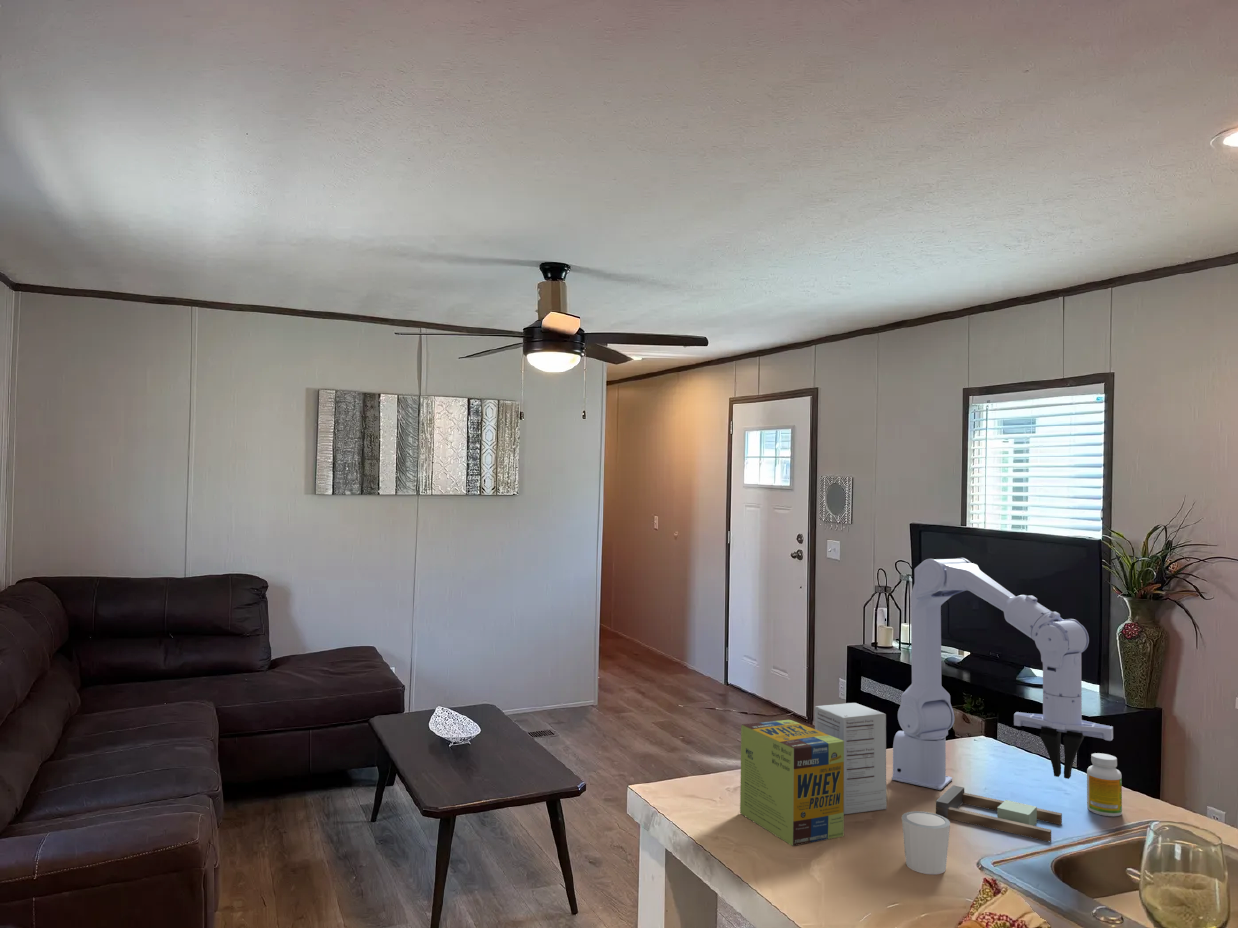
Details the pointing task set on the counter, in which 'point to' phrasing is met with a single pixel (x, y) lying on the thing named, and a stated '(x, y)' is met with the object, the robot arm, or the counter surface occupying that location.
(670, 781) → the counter surface
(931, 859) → the white cup
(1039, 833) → the guide channel
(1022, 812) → the block
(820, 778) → the protein box
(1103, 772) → the supplement bottle
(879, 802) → the supplement box
